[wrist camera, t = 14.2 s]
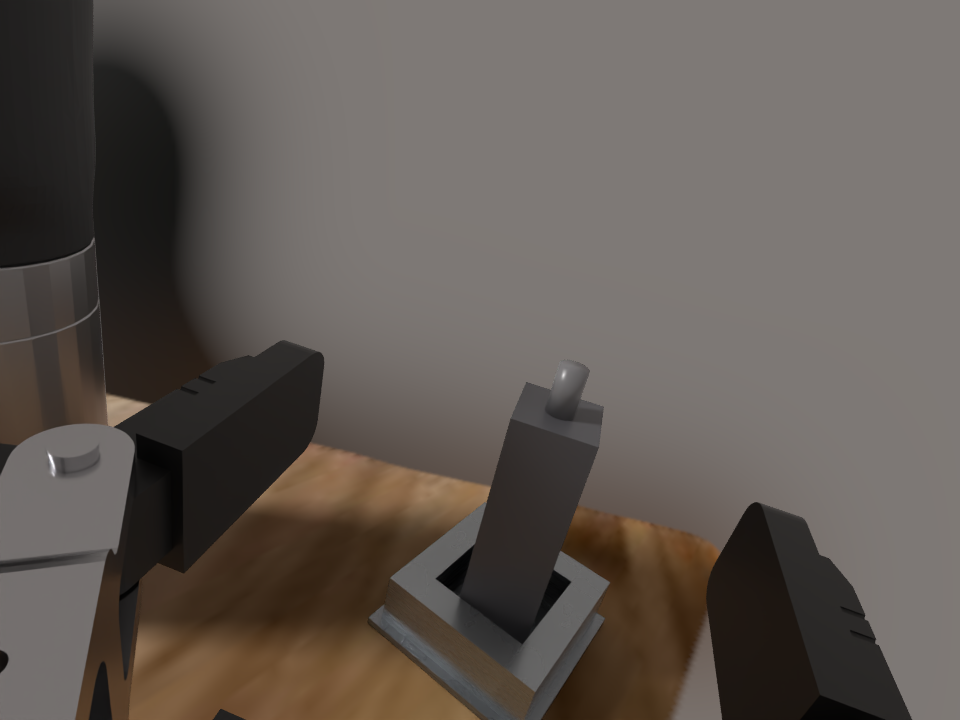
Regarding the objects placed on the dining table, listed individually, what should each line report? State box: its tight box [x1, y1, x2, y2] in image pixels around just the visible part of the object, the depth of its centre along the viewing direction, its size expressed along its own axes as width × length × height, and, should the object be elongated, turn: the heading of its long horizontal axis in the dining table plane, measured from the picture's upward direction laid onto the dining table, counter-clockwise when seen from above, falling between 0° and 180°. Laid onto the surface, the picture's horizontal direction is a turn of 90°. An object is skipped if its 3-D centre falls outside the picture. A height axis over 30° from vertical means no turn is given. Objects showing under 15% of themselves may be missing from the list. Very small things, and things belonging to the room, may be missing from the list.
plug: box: [460, 360, 604, 645], centre depth 29 cm, size 4×4×16 cm
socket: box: [368, 503, 610, 720], centre depth 32 cm, size 10×10×3 cm
